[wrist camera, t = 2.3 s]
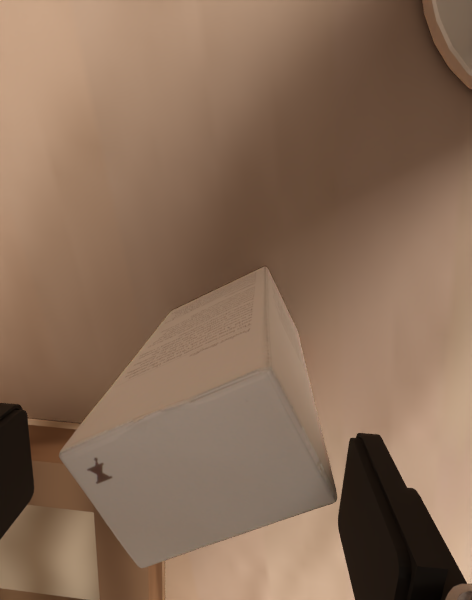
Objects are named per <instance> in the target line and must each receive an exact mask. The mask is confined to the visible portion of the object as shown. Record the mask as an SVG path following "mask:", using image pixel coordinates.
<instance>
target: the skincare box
mask: <svg viewBox="0 0 472 600" xmlns="http://www.w3.org/2000/svg"><path fill="white" fill-rule="evenodd" d="M59 458H60V459H61V461H62V462H63V463H64V465H65V466H66V468H67V469H68V470H69V472H70V473H71V474H72V476H73V477H74V479H75V480H76V481H77V483H78V484H79V485H80V487H81V488H82V490H83V491H84V492H85V494H86V495H87V497H88V498H89V499H90V501H91V502H92V504H93V505H94V506H95V508H96V509H97V511H98V512H99V514H100V515H101V517H102V518H103V519H104V521H105V522H106V524H107V525H108V526H109V528H110V529H111V531H112V532H113V534H114V535H115V536H116V538H117V539H118V541H119V542H120V543H121V545H122V546H123V548H124V549H125V550H126V552H127V553H128V554H129V555H130V557H131V558H132V559H133V561H134V562H135V563H136V564H137V566H139V567H140V568H145V567H148V566H151V565H154V564H157V563H159V562H162V561H165V560H167V559H170V558H173V557H176V556H179V555H182V554H185V553H188V552H191V551H193V550H196V549H199V548H202V547H205V546H208V545H211V544H214V543H217V542H220V541H223V540H226V539H229V538H232V537H235V536H238V535H240V534H243V533H246V532H249V531H252V530H255V529H258V528H261V527H264V526H266V525H269V524H272V523H275V522H278V521H281V520H284V519H287V518H290V517H293V516H296V515H299V514H302V513H305V512H308V511H311V510H313V509H316V508H320V507H323V506H326V505H330V504H333V503H334V502H336V500H337V493H336V488H335V484H334V480H333V475H332V471H331V467H330V463H329V459H328V455H327V451H326V447H325V443H324V438H323V434H322V430H321V425H320V422H319V417H318V413H317V409H316V405H315V401H314V397H313V393H312V389H311V384H310V380H309V376H308V372H307V367H306V363H305V359H304V355H303V351H302V347H301V342H300V338H299V334H298V331H297V328H296V326H295V324H294V322H293V320H292V318H291V316H290V314H289V312H288V310H287V308H286V305H285V303H284V301H283V299H282V297H281V295H280V293H279V290H278V288H277V286H276V284H275V282H274V280H273V278H272V276H271V274H270V272H269V270H268V268H267V267H265V266H264V267H262V268H260V269H258V270H256V271H254V272H251V273H249V274H247V275H245V276H243V277H241V278H239V279H237V280H235V281H233V282H231V283H228V284H226V285H224V286H222V287H220V288H218V289H216V290H214V291H212V292H210V293H207V294H205V295H203V296H201V297H199V298H197V299H195V300H193V301H191V302H189V303H187V304H185V305H183V306H181V307H179V308H176V309H174V310H172V311H170V313H169V314H168V315H167V316H166V318H165V319H164V320H163V321H162V323H161V324H160V325H159V326H158V328H157V329H156V330H155V331H154V333H153V334H152V335H151V337H150V338H149V339H148V340H147V342H146V343H145V344H144V345H143V347H142V348H141V349H140V351H139V352H138V353H137V354H136V356H135V357H134V358H133V359H132V361H131V362H130V363H129V364H128V366H127V367H126V368H125V369H124V370H123V372H122V373H121V374H120V376H119V377H118V378H117V379H116V381H115V382H114V383H113V385H112V386H111V387H110V388H109V390H108V391H107V392H106V393H105V395H104V396H103V397H102V398H101V400H100V401H99V402H98V403H97V404H96V406H95V407H94V408H93V409H92V411H91V412H90V413H89V414H88V416H87V417H86V418H85V419H84V421H83V422H82V423H81V424H80V426H79V427H78V428H77V430H76V431H75V432H74V434H73V435H72V436H71V438H70V439H69V440H68V441H67V443H66V444H65V445H64V447H63V448H62V449H61V451H60V453H59Z"/></svg>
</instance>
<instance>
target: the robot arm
mask: <svg viewBox="0 0 472 600" xmlns="http://www.w3.org/2000/svg"><path fill="white" fill-rule="evenodd" d="M422 3H423V10H424V15H425V18H426V21H427V24H428V27H429V30H430V33H431V36H432V39H433V41H434V44H435V45H436V47H437V49H438V50H439V52H440V54H441V55H442V57H443V59H444V60H445V62H446V64H447V65H448V67H449V68H450V69H451V70H452V71H453V72H454V73H455V75H456V76H457V77H458V78H459V79H460V80H461V81H462V82H463V83H464V84H465V85H466V86H467V87H468V88H470V89H471V90H472V0H422ZM33 493H34V478H33V468H32V458H31V448H30V438H29V428H28V418H27V413H26V411H24V410H22V407H21V406H20V405H18V404H6V403H0V539H1V538H2V537H3V536H4V534H5V533H6V532H7V530H8V529H9V528H10V527H11V525H12V524H13V523H14V521H15V520H16V519H17V518H18V516H19V515H20V514H21V512H22V511H23V510H24V508H25V507H26V506H27V505H28V503H29V502H30V500H31V498H32V496H33ZM338 527H339V533H340V537H341V542H342V546H343V550H344V554H345V559H346V563H347V567H348V571H349V576H350V580H351V584H352V588H353V592H354V597H355V600H472V584H467V582H466V581H465V579H464V577H463V575H462V573H461V571H460V570H459V568H458V566H457V564H456V562H455V560H454V558H453V557H452V555H451V553H450V551H449V549H448V547H447V545H446V544H445V542H444V540H443V538H442V536H441V534H440V532H439V531H438V529H437V527H436V525H435V523H434V521H433V520H432V518H431V516H430V514H429V512H428V510H427V508H426V507H425V505H424V503H423V501H422V499H421V497H420V495H419V494H418V493H417V491H416V490H415V489H413V488H407V487H406V485H405V483H404V481H403V479H402V477H401V475H400V473H399V471H398V469H397V467H396V465H395V463H394V461H393V459H392V458H391V456H390V454H389V452H388V450H387V448H386V446H385V444H384V442H383V440H382V438H381V436H380V435H377V434H365V433H358V434H357V436H356V438H350V441H349V447H348V454H347V461H346V468H345V474H344V481H343V488H342V495H341V501H340V508H339V515H338Z"/></svg>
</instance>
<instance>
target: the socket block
mask: <svg viewBox="0 0 472 600" xmlns="http://www.w3.org/2000/svg"><path fill="white" fill-rule="evenodd" d="M79 426H80V423H70V422H59V421H49V420H39V419H29V418H28V428H29V438H30V448H31V458H32V468H33V478H34V493H33V496H32V498H31V500H30V502H29V503H28V505H27V506H26V507H25V508H24V510H23V511H22V512H21V514H20V515H19V516H18V518H17V519H16V520H15V521H14V523H13V524H12V525H11V527H10V528H9V529H8V530H7V532H6V533H5V534H4V536H3V537H2V538H1V539H0V600H165V561H162V562H159V563H157V564H154V565H151V566H148V567H145V568H140V567H139V566H137V564H136V563H135V562H134V561H133V559H132V558H131V557H130V555H129V554H128V553H127V552H126V550H125V549H124V548H123V546H122V545H121V543H120V542H119V541H118V539H117V538H116V536H115V535H114V534H113V532H112V531H111V529H110V528H109V526H108V525H107V524H106V522H105V521H104V519H103V518H102V517H101V515H100V514H99V512H98V511H97V509H96V508H95V506H94V505H93V504H92V502H91V501H90V499H89V498H88V497H87V495H86V494H85V492H84V491H83V490H82V488H81V487H80V485H79V484H78V483H77V481H76V480H75V479H74V477H73V476H72V474H71V473H70V472H69V470H68V469H67V468H66V466H65V465H64V463H63V462H62V461H61V459H60V458H59V453H60V451H61V449H62V448H63V447H64V445H65V444H66V443H67V441H68V440H69V439H70V438H71V436H72V435H73V434H74V432H75V431H76V430H77V428H78V427H79Z"/></svg>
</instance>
